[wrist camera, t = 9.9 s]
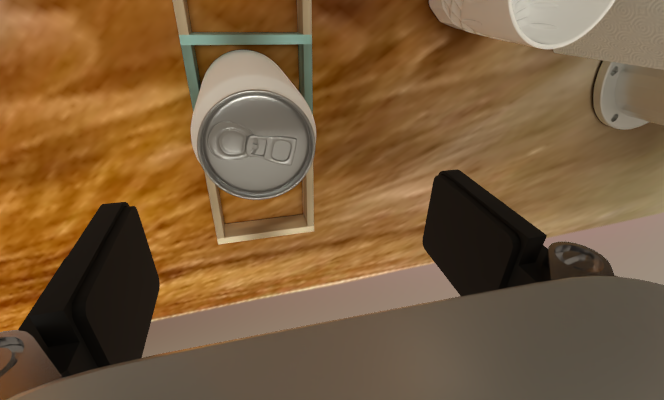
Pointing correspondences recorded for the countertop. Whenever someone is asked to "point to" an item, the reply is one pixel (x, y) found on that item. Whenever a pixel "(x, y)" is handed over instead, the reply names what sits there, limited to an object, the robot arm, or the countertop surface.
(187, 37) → the slot rack
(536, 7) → the white cup
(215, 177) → the can
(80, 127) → the countertop surface
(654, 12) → the paper towel roll
